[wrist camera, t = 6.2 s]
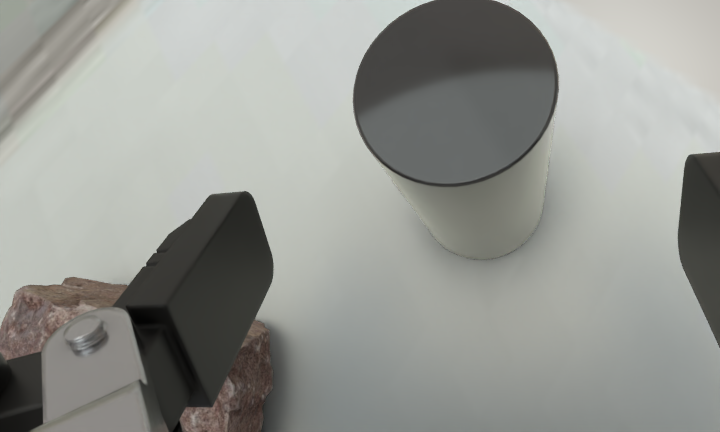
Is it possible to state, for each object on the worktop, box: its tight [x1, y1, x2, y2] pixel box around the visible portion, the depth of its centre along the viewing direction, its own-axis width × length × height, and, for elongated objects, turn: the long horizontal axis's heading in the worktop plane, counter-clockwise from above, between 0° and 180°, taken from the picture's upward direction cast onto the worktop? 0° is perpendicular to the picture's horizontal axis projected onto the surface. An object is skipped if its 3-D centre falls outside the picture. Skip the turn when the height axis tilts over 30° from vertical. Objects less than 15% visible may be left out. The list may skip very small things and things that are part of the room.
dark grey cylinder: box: [353, 0, 559, 260], centre depth 16 cm, size 4×4×9 cm
